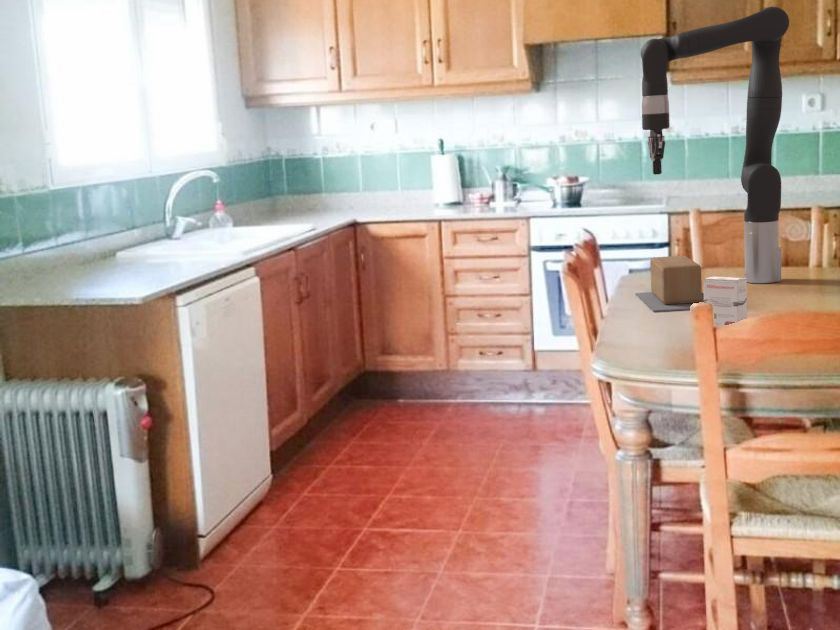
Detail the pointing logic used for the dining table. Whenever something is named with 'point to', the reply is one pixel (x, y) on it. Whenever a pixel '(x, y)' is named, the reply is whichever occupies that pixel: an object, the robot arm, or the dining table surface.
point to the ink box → (726, 298)
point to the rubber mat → (659, 306)
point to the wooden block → (676, 280)
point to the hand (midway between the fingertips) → (657, 174)
